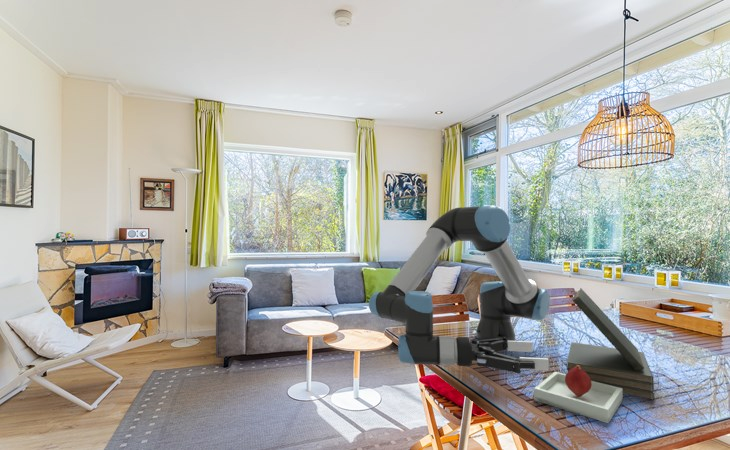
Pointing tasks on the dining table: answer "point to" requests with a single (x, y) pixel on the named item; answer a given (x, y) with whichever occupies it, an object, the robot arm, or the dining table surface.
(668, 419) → the dining table surface
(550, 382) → the tray
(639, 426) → the dining table surface
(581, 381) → the onion
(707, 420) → the dining table surface
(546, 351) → the dining table surface
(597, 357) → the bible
